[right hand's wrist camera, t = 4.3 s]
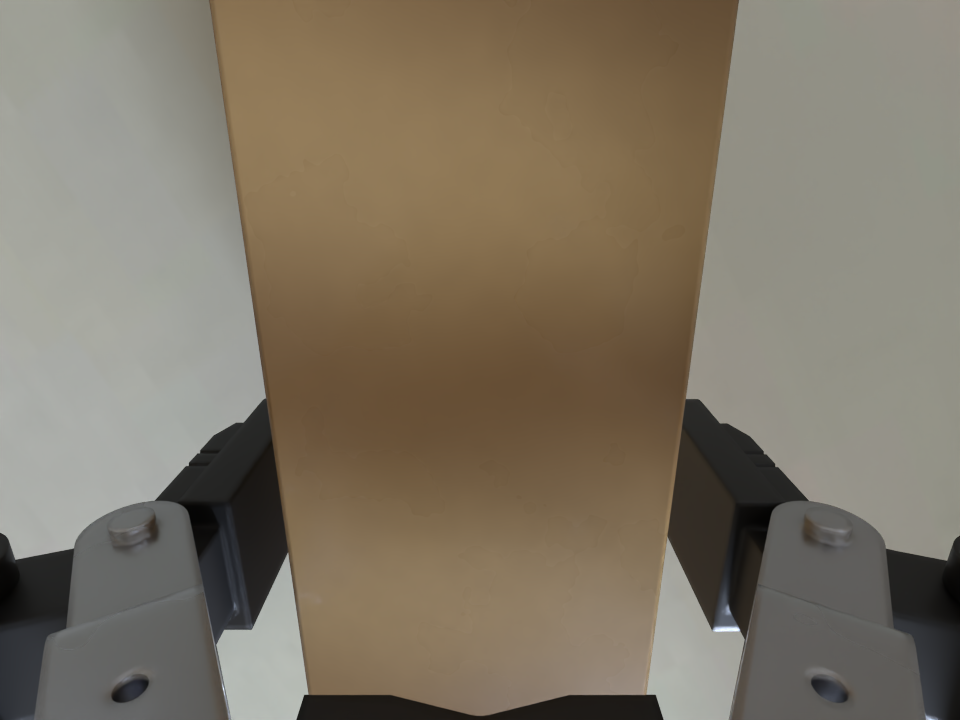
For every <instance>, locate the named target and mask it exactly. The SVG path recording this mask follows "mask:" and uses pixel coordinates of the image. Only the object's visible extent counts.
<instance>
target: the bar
mask: <svg viewBox="0 0 960 720" xmlns="http://www.w3.org/2000/svg"><path fill="white" fill-rule="evenodd" d="M209 2H210V9H211V16H212V23H213V30H214V37H215V44H216V51H217V57H218V64H219V71H220V78H221V85H222V92H223V99H224V106H225V113H226V120H227V127H228V134H229V141H230V148H231V155H232V162H233V169H234V176H235V183H236V190H237V197H238V204H239V211H240V218H241V225H242V232H243V239H244V246H245V253H246V260H247V267H248V274H249V281H250V288H251V295H252V302H253V309H254V316H255V323H256V330H257V337H258V344H259V351H260V358H261V365H262V372H263V379H264V386H265V393H266V400H267V407H268V414H269V421H270V428H271V435H272V442H273V449H274V456H275V463H276V470H277V477H278V484H279V491H280V498H281V505H282V512H283V519H284V526H285V533H286V540H287V546H288V553H289V560H290V567H291V574H292V581H293V588H294V595H295V602H296V609H297V616H298V623H299V630H300V637H301V644H302V651H303V658H304V665H305V672H306V679H307V686H308V693H309V695H393V696H397V697H401V698H405V699H409V700H413V701H417V702H421V703H425V704H429V705H433V706H437V707H441V708H445V709H449V710H453V711H457V712H461V713H465V714H469V715H475V716H485V715H491V714H495V713H499V712H503V711H507V710H511V709H515V708H519V707H523V706H527V705H531V704H535V703H539V702H543V701H547V700H551V699H555V698H559V697H563V696H567V695H646V693H647V685H648V678H649V670H650V663H651V655H652V648H653V640H654V633H655V625H656V618H657V610H658V603H659V595H660V588H661V580H662V573H663V565H664V558H665V550H666V543H667V535H668V528H669V520H670V513H671V505H672V498H673V490H674V483H675V475H676V468H677V460H678V453H679V445H680V438H681V430H682V423H683V415H684V408H685V400H686V393H687V385H688V378H689V370H690V363H691V355H692V348H693V340H694V333H695V325H696V318H697V310H698V303H699V295H700V288H701V280H702V273H703V265H704V258H705V250H706V243H707V235H708V228H709V220H710V213H711V205H712V198H713V190H714V183H715V175H716V168H717V160H718V153H719V145H720V138H721V130H722V123H723V115H724V108H725V100H726V93H727V85H728V78H729V71H730V63H731V56H732V48H733V41H734V33H735V26H736V18H737V11H738V3H739V0H209Z"/></svg>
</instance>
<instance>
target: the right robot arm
mask: <svg viewBox="0 0 960 720" xmlns="http://www.w3.org/2000/svg"><path fill="white" fill-rule="evenodd" d="M667 536H668V538H669V541H670V543H671V545H672V547H673V549H674V551H675V553H676V555H677V557H678V560H679V562H680V564H681V566H682V568H683V570H684V572H685V574H686V576H687V578H688V581H689V583H690V585H691V587H692V589H693V591H694V593H695V595H696V597H697V599H698V602H699V604H700V606H701V608H702V610H703V612H704V614H705V616H706V618H707V621H708V623H709V625H710V627H711V629H712V631H741V633H742V635H743V637H744V639H745V642H744V647H743V652H742V656H741V661H740V666H739V671H738V676H737V681H736V686H735V691H734V696H733V701H732V706H731V711H730V716H729V720H960V536H959V537H957V538H956V539H955V541H954V543H953V546H952V549H951V552H950V554H949V557H948V560H947V561H945V560H940V559H935V558H929V557H924V556H919V555H914V554H909V553H903V552H898V551H894V550H889V549H886V546H885V542H884V540H883V538H882V536H881V535H880V534H879V533H878V531H877V530H876V529H875V528H873V527H872V526H871V525H870V524H869V523H867V522H866V521H864V520H863V519H861V518H859V517H858V516H856V515H854V514H852V513H850V512H847V511H845V510H843V509H840V508H837V507H834V506H831V505H827V504H823V503H818V502H811V501H809V500H808V499H807V498H806V497H805V496H804V495H803V494H802V493H801V492H800V491H799V490H798V488H797V487H796V486H795V485H794V484H793V483H792V482H791V481H790V480H789V479H788V478H787V476H786V475H785V474H784V473H783V472H782V471H781V470H780V469H779V468H778V467H775V463H774V462H773V461H772V460H771V459H770V458H769V457H768V456H767V455H766V454H764V451H763V450H762V449H761V448H760V447H759V446H758V445H757V444H756V443H755V441H754V440H753V439H752V438H751V437H750V436H748V435H746V434H745V433H743V432H741V431H739V430H738V429H736V428H734V427H732V426H731V425H729V424H720V423H719V422H718V421H717V420H716V418H715V417H714V416H713V415H712V414H711V413H710V411H709V410H708V409H707V408H706V407H705V406H704V404H703V403H702V402H701V401H700V400H698V399H686V400H685V408H684V415H683V423H682V430H681V438H680V445H679V453H678V460H677V468H676V475H675V483H674V490H673V498H672V505H671V513H670V520H669V528H668V535H667ZM287 553H288V546H287V540H286V533H285V526H284V519H283V512H282V505H281V498H280V491H279V484H278V477H277V470H276V463H275V456H274V449H273V442H272V435H271V428H270V421H269V414H268V407H267V400H266V399H264V400H263V401H262V402H261V403H260V404H259V405H258V407H257V408H256V409H255V410H254V411H253V412H252V414H251V415H250V416H249V417H248V418H247V420H246V421H245V422H244V423H235V424H233V425H232V426H230V427H228V428H226V429H225V430H223V431H221V432H219V433H218V434H216V435H214V436H213V437H212V438H211V439H210V440H209V441H208V443H207V444H206V445H205V446H204V447H203V448H202V449H201V450H200V454H197V455H196V456H195V457H194V458H193V459H192V460H191V461H190V462H189V466H186V467H185V468H184V469H183V470H182V471H181V472H180V473H179V475H178V476H177V477H176V478H175V479H174V480H173V481H172V482H171V483H170V485H169V486H168V487H167V488H166V489H165V490H164V491H163V492H162V493H161V494H160V496H159V497H158V498H157V499H156V500H155V501H149V502H142V503H137V504H133V505H129V506H126V507H123V508H120V509H117V510H115V511H113V512H110V513H108V514H106V515H104V516H102V517H101V518H99V519H97V520H96V521H94V522H93V523H91V524H90V525H89V526H88V527H87V528H85V529H84V530H83V531H82V533H81V534H80V535H79V536H78V538H77V540H76V542H75V546H74V549H70V550H64V551H59V552H54V553H49V554H44V555H39V556H33V557H28V558H23V559H18V560H15V558H14V555H13V552H12V549H11V546H10V543H9V540H8V538H7V537H6V536H5V535H3V534H2V533H0V720H231V716H230V711H229V706H228V701H227V696H226V691H225V686H224V681H223V676H222V671H221V666H220V661H219V656H218V652H217V647H216V644H217V642H218V640H219V638H220V636H221V634H222V633H223V631H224V630H252V628H253V626H254V624H255V622H256V619H257V617H258V615H259V613H260V611H261V609H262V607H263V604H264V602H265V600H266V598H267V596H268V594H269V592H270V590H271V587H272V585H273V583H274V581H275V579H276V577H277V575H278V572H279V570H280V568H281V566H282V564H283V562H284V560H285V557H286V555H287ZM297 720H663V717H662V714H661V710H660V707H659V704H658V701H657V698H656V695H567V696H563V697H559V698H555V699H551V700H547V701H543V702H539V703H535V704H531V705H527V706H523V707H519V708H515V709H511V710H507V711H503V712H499V713H495V714H491V715H485V716H475V715H469V714H465V713H461V712H457V711H453V710H449V709H445V708H441V707H437V706H433V705H429V704H425V703H421V702H417V701H413V700H409V699H405V698H401V697H397V696H393V695H304V698H303V701H302V704H301V707H300V710H299V714H298V717H297Z"/></svg>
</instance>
